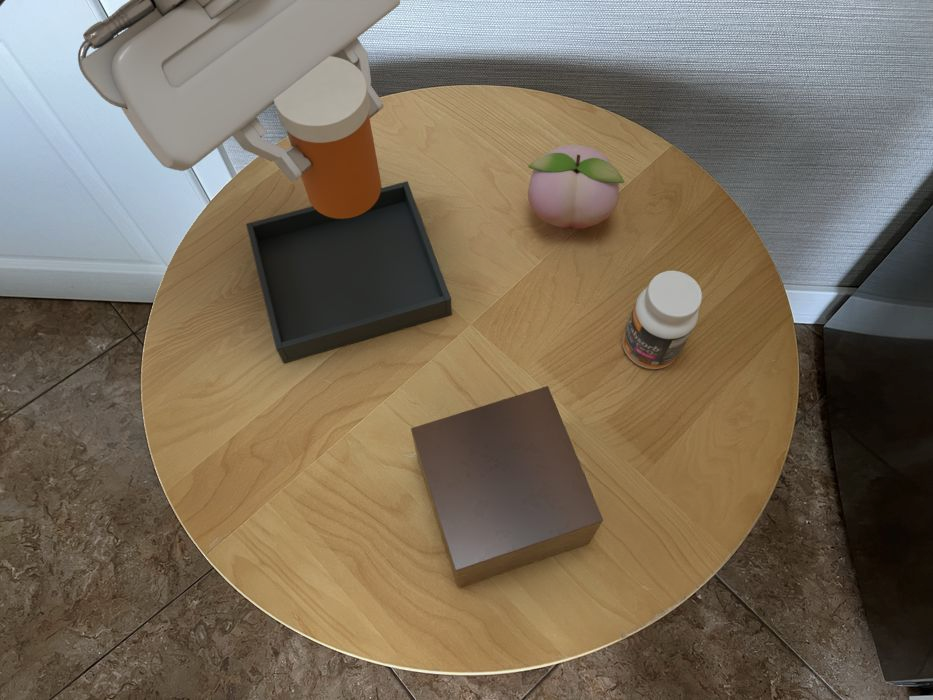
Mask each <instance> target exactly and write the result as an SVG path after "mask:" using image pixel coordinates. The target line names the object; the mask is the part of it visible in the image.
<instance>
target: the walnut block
mask: <svg viewBox="0 0 933 700" xmlns="http://www.w3.org/2000/svg"><path fill="white" fill-rule="evenodd" d="M410 432H411V435H412V441H413V444H414V449H415V450H414V451H415V454H416V459H417V462H418V466H419V469H420V472H421V475H422V479H423V481H424V484H425V488H426V491H427V494H428V497H429V501H430V505H431V508H432V511H433V513H434V517H435V520H436V524H437V526H438V527H437V528H438V530H439V533H440V536H441V539H442V542H443V547H444V549H445V552H446V556H447V558H448V562H449V565H450V568H451V571H452V574H453V577H454V581H455V584H456V588H457V589H461V588H463V587H465V586H470V585H472V584H475V583H478V582H481V581H484V580H486V579H489V578H493V577H496V576H499V575H501V574H505V573H507V572H510V571H513V570H516V569H519V568H523V567H525V566H528V565H531V564H534V563H536V562H540V561H542V560H545V559H548V558H551V557H554V556H557V555H560V554H563V553H567V552H569V551H572V550H574V549H577V548H581V547H584V546H586V545H590V543H591V542H592V540H593V539H594V537H595V535H596V534H597V532H598V530H599V529H600V527H601V526H602V524H603V523H604V519H603V516H602V514H601V512H600V508H599V506H598V504H597V501H596V499H595V497H594V494H593V492H592V489H591V486H590V484H589V482H588V479H587V477H586V475H585V472H584V470H583V467H582V465H581V462H580V460H579V458H578V454H577V453H576V450H575V448H574V446H573V443H572V441H571V438H570V436H569V434H568V433H569V432H568V431H567V429H566V426H565V424H564V421H563V418H562V417H561V414H560V411H559V409H558V407H557V404H556V402H555V400H554V397H553V395H552V392H551V390H550V387H549V386H548V385H547V386H542V387H540V388H536V389H533V390H531V391H527V392H524V393H520V394H517V395H514V396H511V397H508V398H504V399H501V400H497V401H495V402H491V403H488V404H485V405H482V406H478V407H475V408H472V409H469V410H466V411H462V412H459V413H456V414H452V415H449V416H446V417H443V418H439V419H436V420H434V421H430V422H427V423H423V424H420V425H417V426H413V427H411V428H410Z"/></svg>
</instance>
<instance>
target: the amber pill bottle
mask: <svg viewBox="0 0 933 700" xmlns="http://www.w3.org/2000/svg"><path fill="white" fill-rule="evenodd" d="M273 105H274V107H275V110H276V113H277V116H278V119H279V122H280V124H281V125H282V127H283V128H284V129H285V131H286V134H287V137H288V139H289V143H290V147H293V146H295V145H297V146H298V147H299V148H300V150H301V151H302V152H303V153H304V157H306V158H308V159H309V160H310V162H311V164H312V167H311V168H310V169H309V170H308V171H307V172H306V173H305V174H303V175H302V176H301V177H300V178H301V181H302V184H303V186H304V189H305V192H306V196H307V198H308V201H309V203H310V205H311V207H312V206H313V207H314V208H315V209H316V210H317V211H318V212H320V213H321V214H323V215H325V216H328V217H331V218H337V219H345V218H352V217H355V216H358V215H361V214H363V213H364V212H366V211H367V210H369V209H370V208H371V207H372V206H373V205H374V204H375V203H376V201H377V200H378V198H379V195H380V192H381V188H382V181H381V174H380V168H379V163H378V157H377V153H376V147H375V141H374V134H373V130H372V125H371V124H372V123H371V118H369V108H370V101H369V95H368V89H367V84H366V80H365V77H364V75H363V74H362V72H361V71H360V70H359V69H358V68H357V67H356V66H355V65H354V64H352V63H350V62H349V61H346V60H344V59H341V58H337V57H332V56H329V57H328V58H326V59H325V60H324V61H322V62H321V63H320V64H319V65H317V66H316V67H315V68H313V69H312V70H311V71H310V72H308V73H307V74H306V75H305V76H303V77H302V78H301V79H299V80H298V81H297V82H296V83H294V84H293V85H292V86H290V87H289V88H288V89H287V90H285V91H284V92H283V93H281V94H280V95H279V96H278V97H276V98H275V99H274V103H273Z"/></svg>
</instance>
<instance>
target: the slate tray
mask: <svg viewBox="0 0 933 700" xmlns="http://www.w3.org/2000/svg"><path fill="white" fill-rule="evenodd" d="M245 225H246V230H247V233H248V238H249V241H250V246H251V250H252V254H253V259H254V263H255V266H256V271H257V275H258V279H259V283H260V288H261V292H262V296H263V300H264V305H265V308H266V313H267V317H268V320H269V325H270V329H271V332H272V337H273V341H274V345H275V350H276V352H277V354H278V356H279V357H280V359H281V361H282V363H283V364H287V363H290V362H294V361H297V360H301V359H304V358H308V357H311V356H314V355H318V354H321V353H324V352H328V351H332V350H335V349H338V348H342V347H345V346H348V345H352V344H355V343H356V344H357V343H360V342H363V341H366V340H369V339H373V338H376V337H380V336H384V335H387V334H390V333H393V332H394V333H395V332H398V331H400V330H404V329H408V328H411V327H414V326H418V325H422V324H425V323H428V322H431V321H434V320H439V319H442V318H446V317H449V316H452V315H453V310H452V297H451V295H450V292H449V289H448V287H447V284H446V282H445V281H446V280H445V278H444V275H443V273H442V271H441V267H440V265H439V262H438V259H437V257H436V255H435V252H434V249H433V245H432V243H431V241H430V237H429V236H428V232H427V230H426V227H425V225H424V222H423V219H422V217H421V214H420V210H419V208H418V206H417V203H416V200H415V198H414V195H413V192H412V190H411V186H410V184H409V181H408V180H406V181H403V182H399V183H395V184H392V185H388V186H384V187H381V192H380V195H379V198H378V200H377V201H376V203H375V204H374V205H373V206H372V207H371V208H370V209H369V210H367V211H366V212H364V213H363V214H361V215H358V216H355V217H352V218H345V219H337V218H331V217H328V216H325V215H323V214H321V213H320V212H318V211H317V210H316V209H315V208H314V207H313V206H312V205H311V206H308V207H305V208H300V209H297V210H296V209H295V210H293V211H290V212H285V213H281V214H278V215H274V216H269V217H267V218H263V219H259V220H255V221H252V222H247V223H246V224H245Z"/></svg>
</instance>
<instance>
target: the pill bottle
mask: <svg viewBox="0 0 933 700" xmlns="http://www.w3.org/2000/svg"><path fill="white" fill-rule="evenodd" d="M702 301H703V293H702V289H701V287H700V285H699V283H698V282H697V281H696V280H695V279H694V278H693V277H691V276H690V275H689V274H687V273H686V272H682V271H678V270H665V271H662V272H659V273H658V274H656V275H655V276H654V277H652V278H651V280H650V281H649V284H648V285H647V287H645V288H644V289H643V290H642V291H641V292H640V293H639V295H638V296H637V298H636V300H635V304H634V306H633V308H632V310H631V313H630V315H629V318H628V320H627V323H626V325H625V328H624V330H623V334H622V339H621V340H622V341H621V342H622V347H623V350H624V353H625V354H626V356H627V357H628V358H629V359H630V361H631V362H633V363H634V364H635V365H637V366H639V367H642V368H645V369H649V370H650V369H651V370H659V369H663V368H666V367H668V366H670V365H671V364H672V363H674V362H675V360H676V359H677V358H678V357H679V356H680V354H681V352H682V349H683V348H684V347H685V345H686V343H687V340H688V339H689V338H690V336H691V334H692V332H693V330H694V329H695V327H696V325H697V323H698V320H699V309H700V307H701V304H702Z"/></svg>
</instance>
